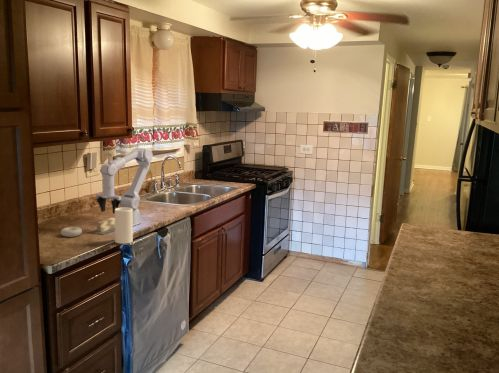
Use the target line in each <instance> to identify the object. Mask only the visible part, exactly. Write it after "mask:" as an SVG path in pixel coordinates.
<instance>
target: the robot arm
mask: <svg viewBox="0 0 499 373" xmlns="http://www.w3.org/2000/svg"><path fill="white" fill-rule="evenodd" d="M153 154H154V153H153V152H152V149H150V148H143V147H135V148H133V149H132V150H131V151H130V152H129V153H127V154H125V155H124V156H123V157H119V156H118V157H117V156H116V157H115V158H114V159H113V160H111V161H108V163H103V164H102V165H101V167H100V169H99V171H100V173H101V177H102V193H96V201H97V203H98V205H99V208H100V212H102V213H103V212H106V202H107V199H108V200H110V203H111V208H112V214H115V209H116V208H119V206H120V208H122V207H127V208H132V209H133V227H134V226H136V225H137V226H138V225H140V224H142V222H141V220H140V219H141V218H140V217H141V213H140V209H139V208H138V207H139V206H140V200H141V197H140V195H139V194H140V191H141V189H142V186H143V184H144V181H145V179H146V177H147V174H148V171H149V170H150V167H151V161H152V159H153V157H154V155H153ZM132 160H135V162H137V164H138V168H137V170H136V172H135V175H134V178H133V180H132V181H131V184H130V187H129V189H128V190H127V191H125V192H124V193H123V195H122V196H121V195H117V194H115V175H116V174H117V172H119V171H120V170H121V169H123V168H124V167H125V166H126V163H129V162H131V161H132Z"/></svg>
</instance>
